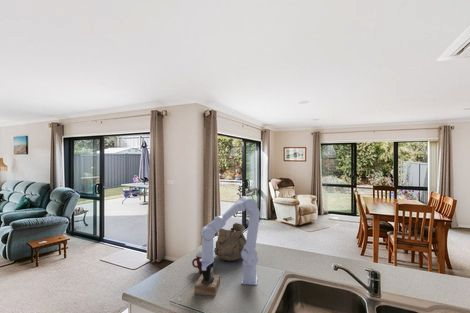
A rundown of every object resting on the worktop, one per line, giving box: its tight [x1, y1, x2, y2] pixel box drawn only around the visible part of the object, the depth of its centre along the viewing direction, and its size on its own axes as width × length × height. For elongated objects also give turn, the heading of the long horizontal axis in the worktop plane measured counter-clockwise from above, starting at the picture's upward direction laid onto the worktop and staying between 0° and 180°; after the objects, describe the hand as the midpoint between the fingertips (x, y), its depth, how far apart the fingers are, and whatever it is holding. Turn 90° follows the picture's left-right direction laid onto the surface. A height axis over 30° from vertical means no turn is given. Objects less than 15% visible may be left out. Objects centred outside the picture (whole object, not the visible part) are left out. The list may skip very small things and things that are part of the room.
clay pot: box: [213, 222, 247, 262], centre depth 153 cm, size 25×24×22 cm
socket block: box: [194, 273, 221, 297], centre depth 116 cm, size 11×10×4 cm
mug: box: [191, 251, 202, 274], centre depth 133 cm, size 10×8×10 cm
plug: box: [203, 266, 214, 284], centre depth 116 cm, size 4×4×7 cm
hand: (207, 278), depth 116 cm, fingers closed on plug, 4 cm apart
